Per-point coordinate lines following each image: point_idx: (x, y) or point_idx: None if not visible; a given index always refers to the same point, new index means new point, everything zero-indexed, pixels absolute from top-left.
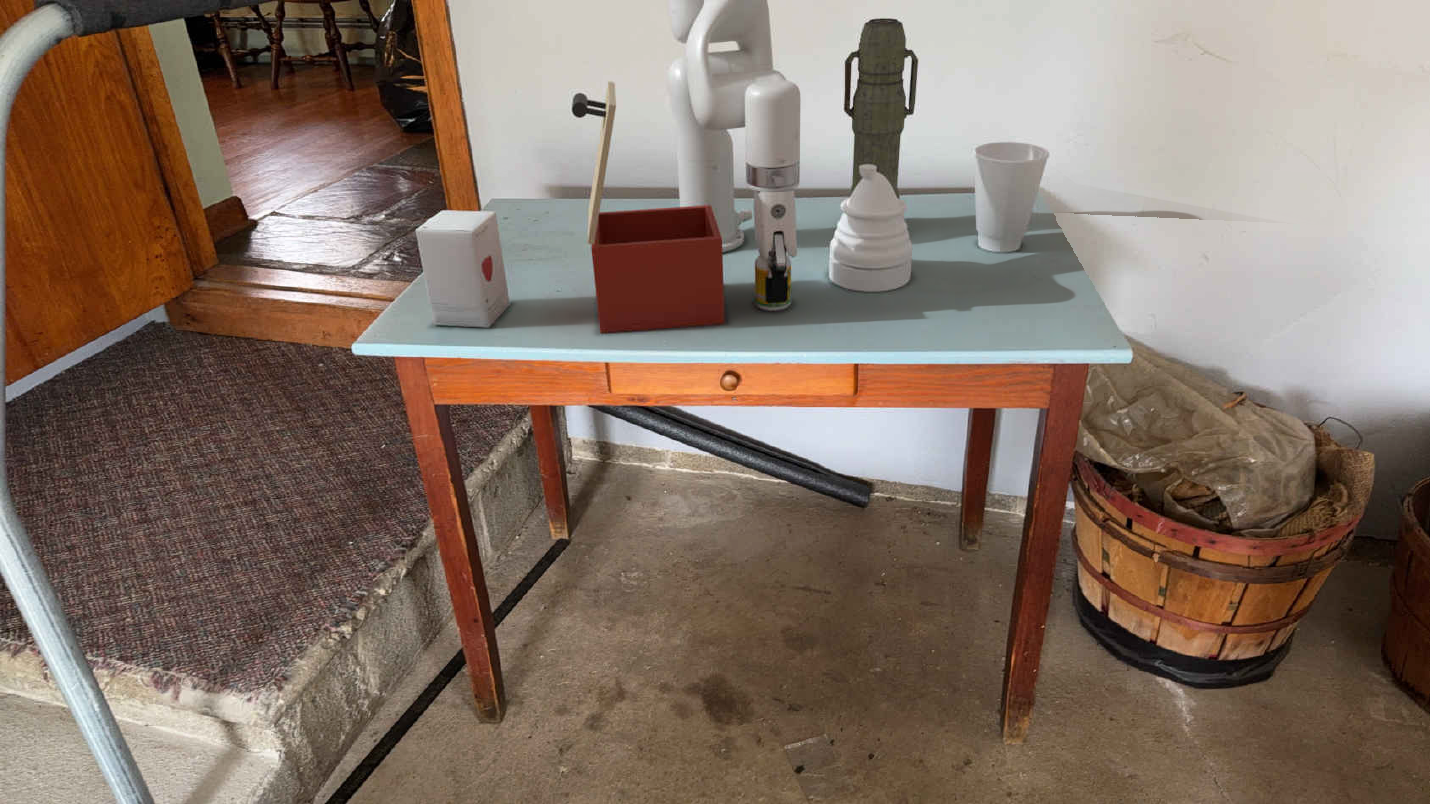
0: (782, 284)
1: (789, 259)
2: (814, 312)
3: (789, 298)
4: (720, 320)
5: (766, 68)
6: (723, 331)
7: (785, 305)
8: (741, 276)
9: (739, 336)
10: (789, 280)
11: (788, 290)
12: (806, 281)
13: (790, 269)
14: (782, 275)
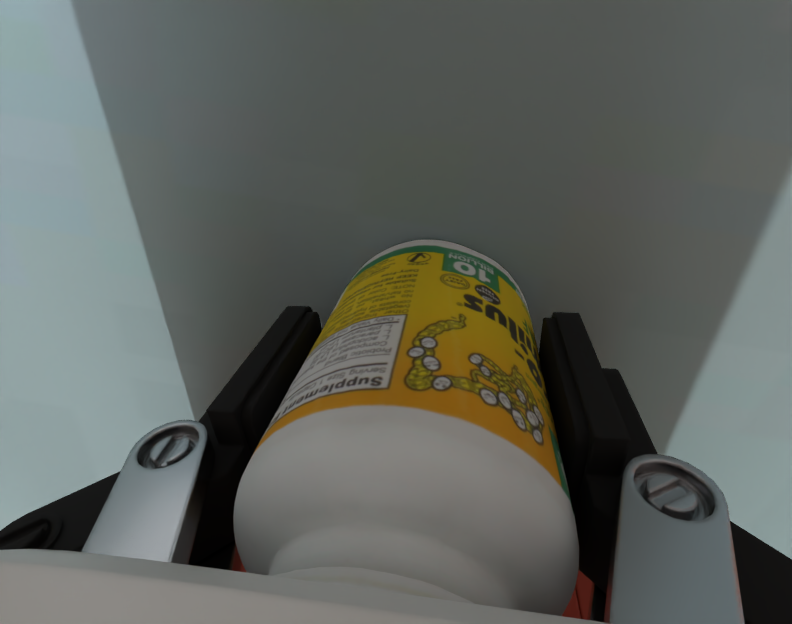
0: (647, 439)
1: (430, 470)
2: (609, 103)
3: (488, 272)
4: None
5: None
6: None
7: (519, 288)
8: (116, 385)
9: (741, 499)
10: (495, 343)
11: (505, 311)
12: (106, 81)
13: (471, 390)
14: (747, 545)
